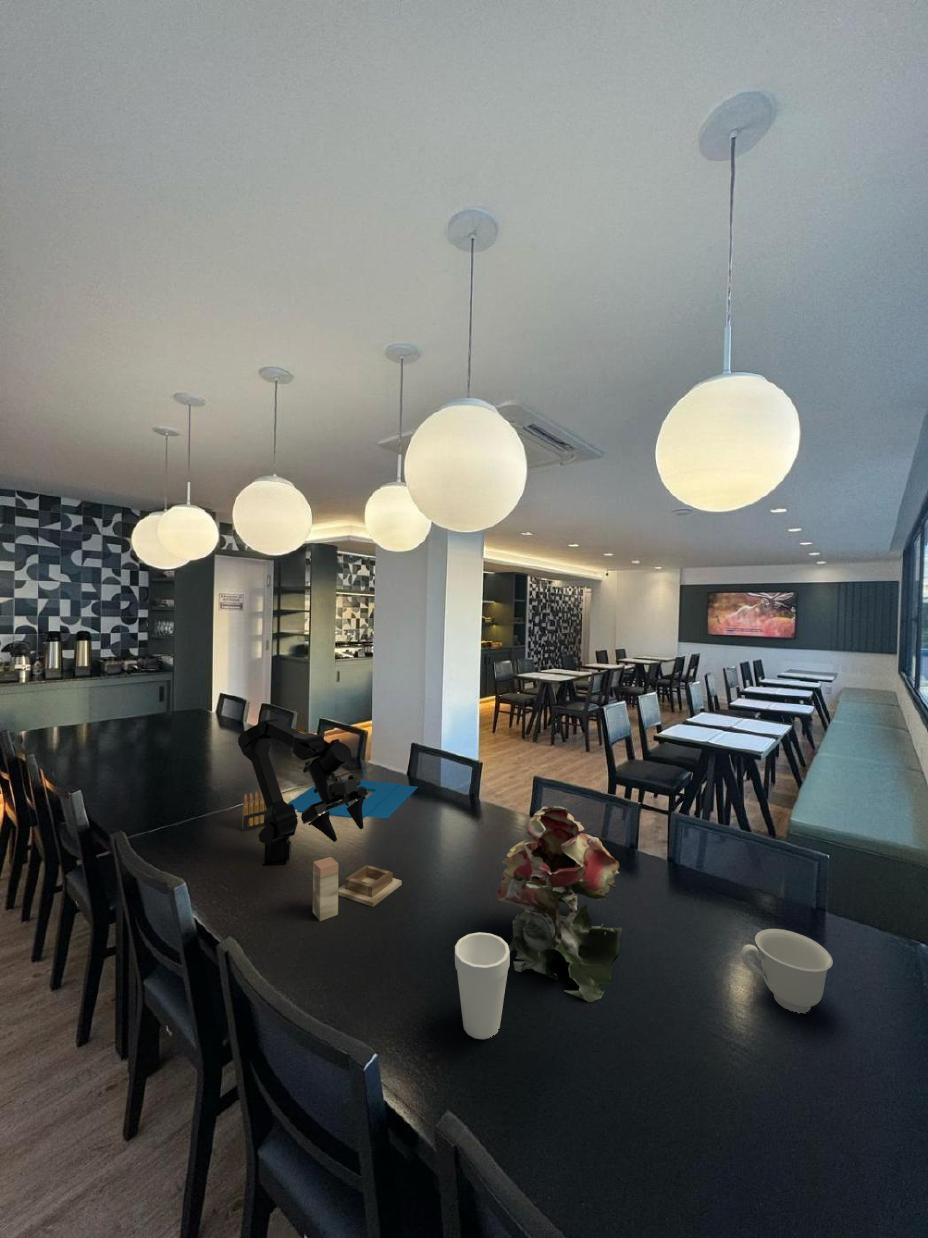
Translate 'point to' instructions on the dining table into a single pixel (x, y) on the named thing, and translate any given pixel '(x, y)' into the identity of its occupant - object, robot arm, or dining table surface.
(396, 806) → the frame
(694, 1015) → the dining table surface
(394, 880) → the socket stand
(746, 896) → the dining table surface
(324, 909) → the birch post
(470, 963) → the foam cup
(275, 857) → the robot arm
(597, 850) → the rose bouquet
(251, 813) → the ammunition clip
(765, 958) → the teacup
